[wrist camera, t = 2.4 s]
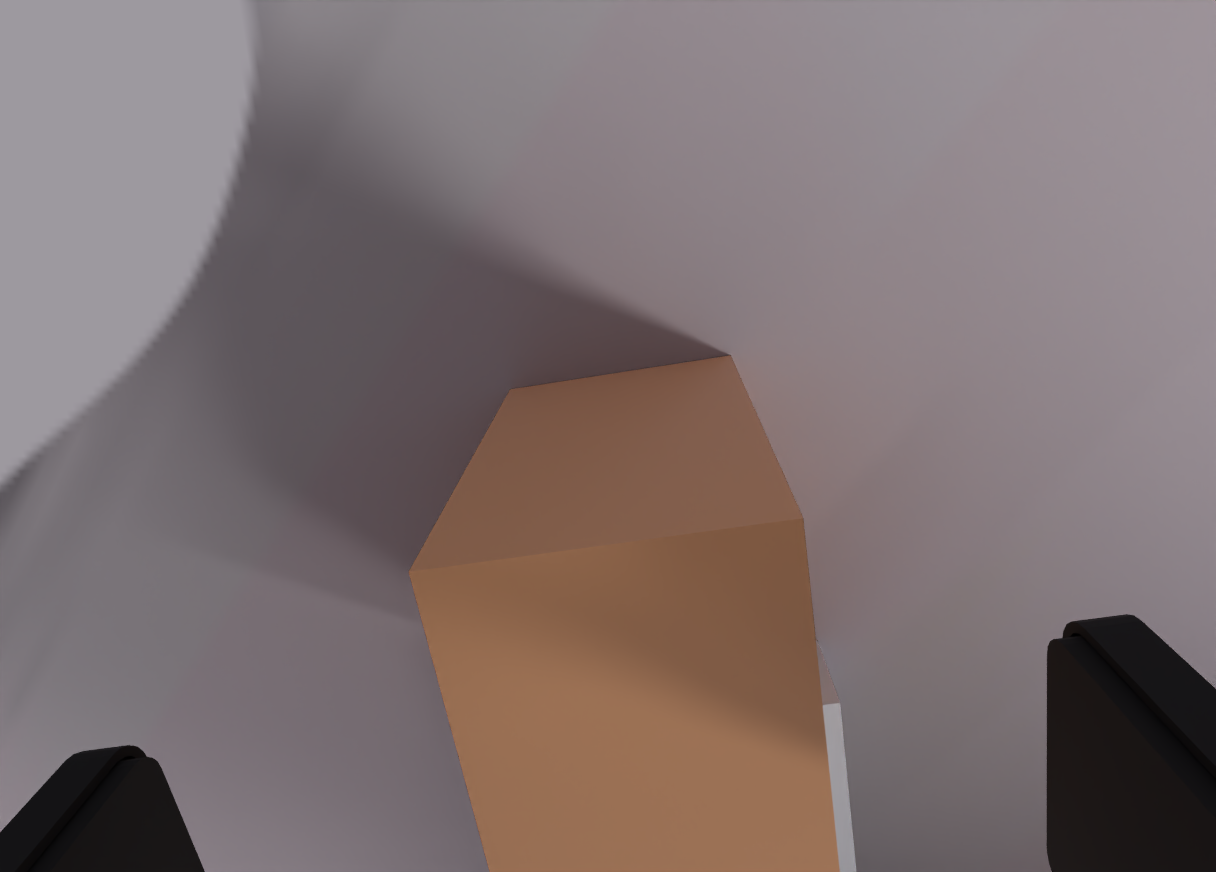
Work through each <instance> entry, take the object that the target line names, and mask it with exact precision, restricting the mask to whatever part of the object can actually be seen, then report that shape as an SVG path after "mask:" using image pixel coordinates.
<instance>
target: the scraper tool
mask: <svg viewBox="0 0 1216 872" xmlns="http://www.w3.org/2000/svg"><path fill="white" fill-rule="evenodd" d="M409 575H410V579H411V583H412V587H413V590H414V594H415V598H416V601H417V605H418V609H419V612H420V616H421V620H422V624H423V627H424V631H425V635H426V638H427V642H428V646H429V649H430V653H431V657H432V661H433V664H434V668H435V672H436V675H437V679H438V683H439V687H440V690H441V694H442V698H443V701H444V705H445V709H446V712H447V716H448V720H449V724H450V727H451V731H452V735H453V738H454V742H455V746H456V749H457V753H458V757H459V761H460V764H461V768H462V772H463V775H464V779H465V783H466V787H467V790H468V794H469V798H470V801H471V805H472V809H473V812H474V816H475V820H476V824H477V827H478V831H479V835H480V838H481V842H482V846H483V849H484V853H485V857H486V861H487V864H488V868H489V872H856V863H855V852H854V842H853V831H852V821H851V810H850V800H849V789H848V779H847V768H846V758H845V748H844V737H843V727H842V716H841V706H840V701H839V698H838V695H837V693H836V690H835V687H834V684H833V682H832V679H831V676H830V673H829V671H828V668H827V665H826V662H825V660H824V657H823V654H822V651H821V649H820V646H819V643H818V640H816V637H815V627H814V617H813V608H812V598H811V588H810V579H809V569H808V560H807V550H806V540H805V531H804V521H803V517H802V514H801V512H800V510H799V508H798V505H797V503H796V501H795V499H794V496H793V494H792V492H791V490H790V487H789V485H788V483H787V481H786V478H785V476H784V474H783V472H782V470H781V467H780V465H779V463H778V461H777V458H776V456H775V454H774V452H773V449H772V447H771V445H770V443H769V440H768V438H767V436H766V434H765V431H764V429H763V427H762V425H761V422H760V420H759V418H758V416H757V414H756V411H755V409H754V407H753V405H752V402H751V400H750V398H749V396H748V393H747V391H746V389H745V387H744V384H743V382H742V380H741V378H740V375H739V373H738V371H737V369H736V366H735V364H734V362H733V360H732V358H731V355H729V356H723V357H716V358H710V359H703V360H697V361H690V362H684V363H677V364H671V365H664V366H658V367H651V368H645V369H638V370H632V371H625V372H619V373H612V374H606V375H600V376H593V377H587V378H580V379H574V380H567V381H561V382H554V383H548V384H541V385H535V386H528V387H522V388H515V389H510V390H509V392H508V394H507V396H506V398H505V399H504V401H503V403H502V405H501V407H500V408H499V410H498V412H497V414H496V415H495V417H494V419H493V421H492V423H491V424H490V426H489V428H488V430H487V432H486V433H485V435H484V437H483V439H482V441H481V442H480V444H479V446H478V448H477V450H476V451H475V453H474V455H473V457H472V459H471V460H470V462H469V464H468V466H467V468H466V469H465V471H464V473H463V475H462V477H461V478H460V480H459V482H458V484H457V486H456V487H455V489H454V491H453V493H452V495H451V496H450V498H449V500H448V502H447V504H446V505H445V507H444V509H443V511H442V513H441V514H440V516H439V518H438V520H437V522H436V523H435V525H434V527H433V529H432V531H431V532H430V534H429V536H428V538H427V540H426V541H425V543H424V545H423V547H422V549H421V550H420V552H419V554H418V556H417V558H416V559H415V561H414V563H413V565H412V567H411V568H410V570H409Z"/></svg>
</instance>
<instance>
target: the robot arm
mask: <svg viewBox="0 0 1216 872" xmlns="http://www.w3.org/2000/svg"><path fill="white" fill-rule="evenodd" d="M1047 854H1048V859H1049V864H1050V867H1051V870H1052V872H1216V689H1215V688H1214V687H1213V686H1212V685H1211V684H1210V683H1209V682H1208V681H1206V680H1205V679H1204V678H1203V677H1202V676H1201V675H1200V674H1199V673H1198V672H1197V671H1196V670H1194V669H1193V668H1192V667H1191V666H1190V665H1189V664H1188V663H1187V662H1186V661H1185V660H1184V659H1183V658H1181V657H1180V656H1179V655H1178V654H1177V653H1176V652H1175V651H1174V650H1173V649H1172V648H1171V647H1169V646H1168V645H1167V644H1166V643H1165V642H1164V641H1163V640H1162V639H1161V638H1160V637H1159V636H1158V635H1156V634H1155V633H1154V632H1153V631H1152V630H1151V629H1150V628H1149V627H1148V626H1147V625H1146V624H1145V623H1143V622H1142V621H1141V620H1140V619H1138V618H1137V617H1135V616H1134V615H1127V614H1126V615H1119V616H1111V617H1103V618H1096V619H1088V620H1080V621H1073V622H1070V623H1068V624H1067V625H1066V627H1065V629H1064V631H1063V638H1060V639H1053V640H1052V641H1050V643H1049V645H1048V651H1047ZM0 872H205V871H204V869H203V866H202V864H201V862H200V859H199V857H198V854H197V852H196V850H195V847H194V845H193V842H192V840H191V838H190V835H189V833H188V831H187V828H186V826H185V823H184V821H183V819H182V816H181V814H180V811H179V809H178V807H177V804H176V802H175V799H174V797H173V795H172V792H171V790H170V788H169V785H168V783H167V780H166V778H165V776H164V773H163V771H162V768H161V767H160V765H159V763H158V762H157V761H156V760H155V759H153V758H150V757H147V756H146V755H145V753H144V752H143V751H142V750H141V749H139V748H138V747H137V746H130V745H127V746H119V747H112V748H104V749H97V750H89V751H82V752H79V753H76V754H73V755H72V756H71V757H70V758H68V759H67V760H66V761H65V762H64V763H63V764H62V765H61V766H60V767H59V768H58V770H57V771H56V772H55V773H54V774H53V775H52V776H51V777H50V778H49V779H48V781H47V782H46V783H45V784H44V785H43V786H42V787H41V788H40V789H39V790H38V792H37V793H36V794H35V795H34V796H33V797H32V798H31V799H30V800H29V801H28V803H27V804H26V805H25V806H24V807H23V808H22V809H21V810H20V811H19V812H18V814H17V815H16V816H15V817H14V818H13V819H12V820H11V821H10V822H9V823H8V825H7V826H6V827H5V828H4V829H3V830H2V831H1V832H0Z"/></svg>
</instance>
